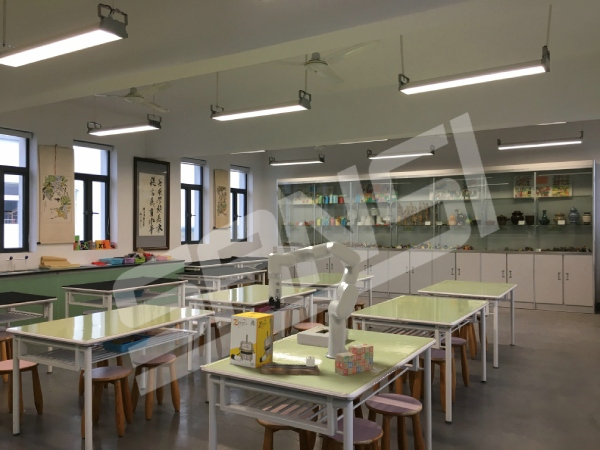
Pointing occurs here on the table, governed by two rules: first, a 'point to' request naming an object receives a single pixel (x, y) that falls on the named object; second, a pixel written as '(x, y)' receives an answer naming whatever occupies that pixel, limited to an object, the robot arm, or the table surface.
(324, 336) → the box
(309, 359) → the fader knob
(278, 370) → the fader console
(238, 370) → the table surface
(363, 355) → the stack of blocks
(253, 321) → the packaging box
